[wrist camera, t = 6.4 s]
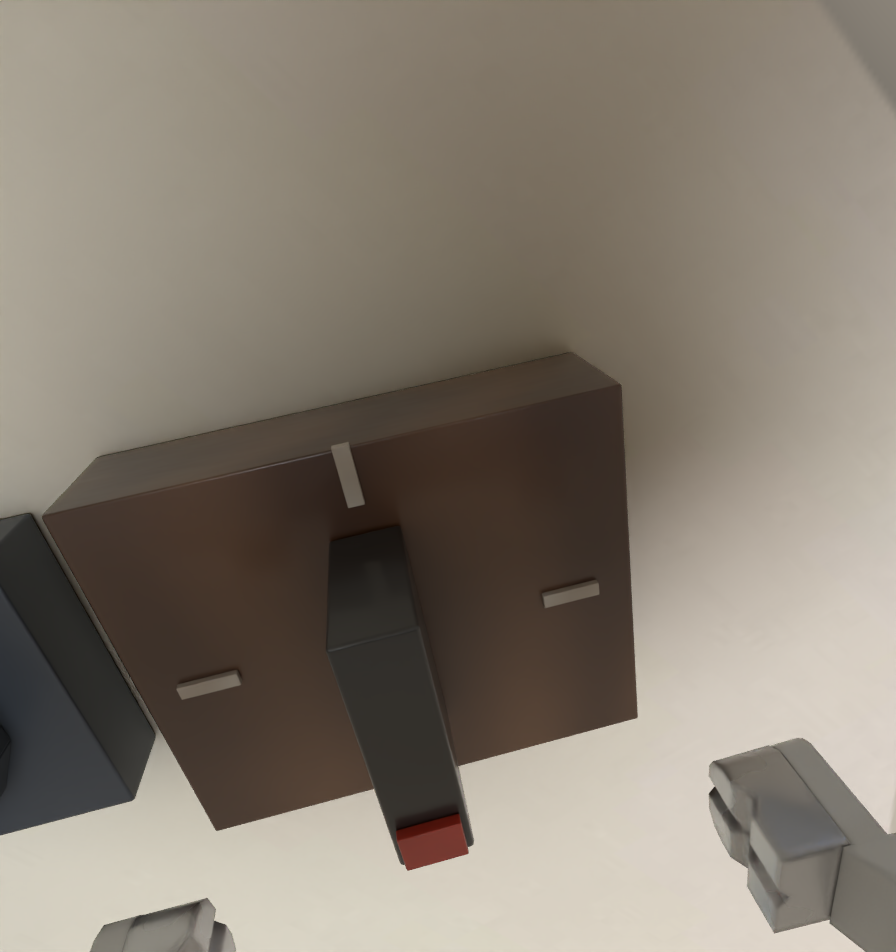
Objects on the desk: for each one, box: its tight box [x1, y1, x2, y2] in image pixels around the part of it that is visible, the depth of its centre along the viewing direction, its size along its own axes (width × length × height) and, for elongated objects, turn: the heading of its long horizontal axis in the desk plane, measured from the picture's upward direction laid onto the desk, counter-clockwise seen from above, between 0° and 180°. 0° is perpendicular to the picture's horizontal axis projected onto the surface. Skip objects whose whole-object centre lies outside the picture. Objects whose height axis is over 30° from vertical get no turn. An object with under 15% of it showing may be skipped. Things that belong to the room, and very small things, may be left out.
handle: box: [326, 526, 474, 871], centre depth 13 cm, size 6×2×4 cm, turn 10°
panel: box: [42, 352, 638, 831], centre depth 16 cm, size 12×10×3 cm
